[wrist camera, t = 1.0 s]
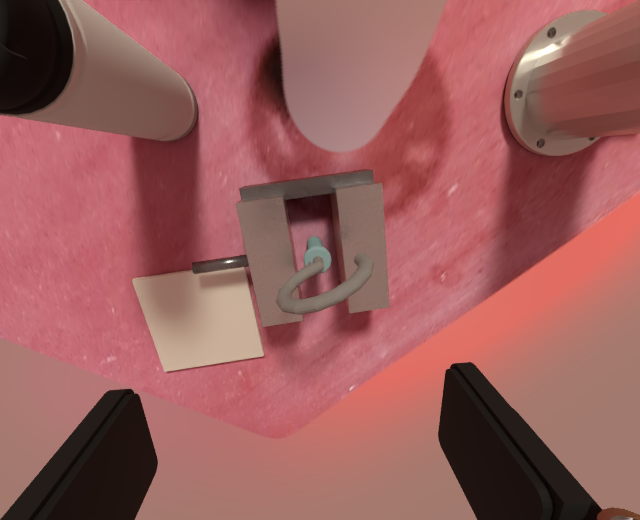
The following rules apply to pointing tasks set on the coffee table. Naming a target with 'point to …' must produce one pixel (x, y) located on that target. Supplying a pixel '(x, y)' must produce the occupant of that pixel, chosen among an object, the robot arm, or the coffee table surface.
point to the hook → (317, 263)
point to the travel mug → (87, 73)
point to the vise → (278, 249)
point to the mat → (200, 317)
